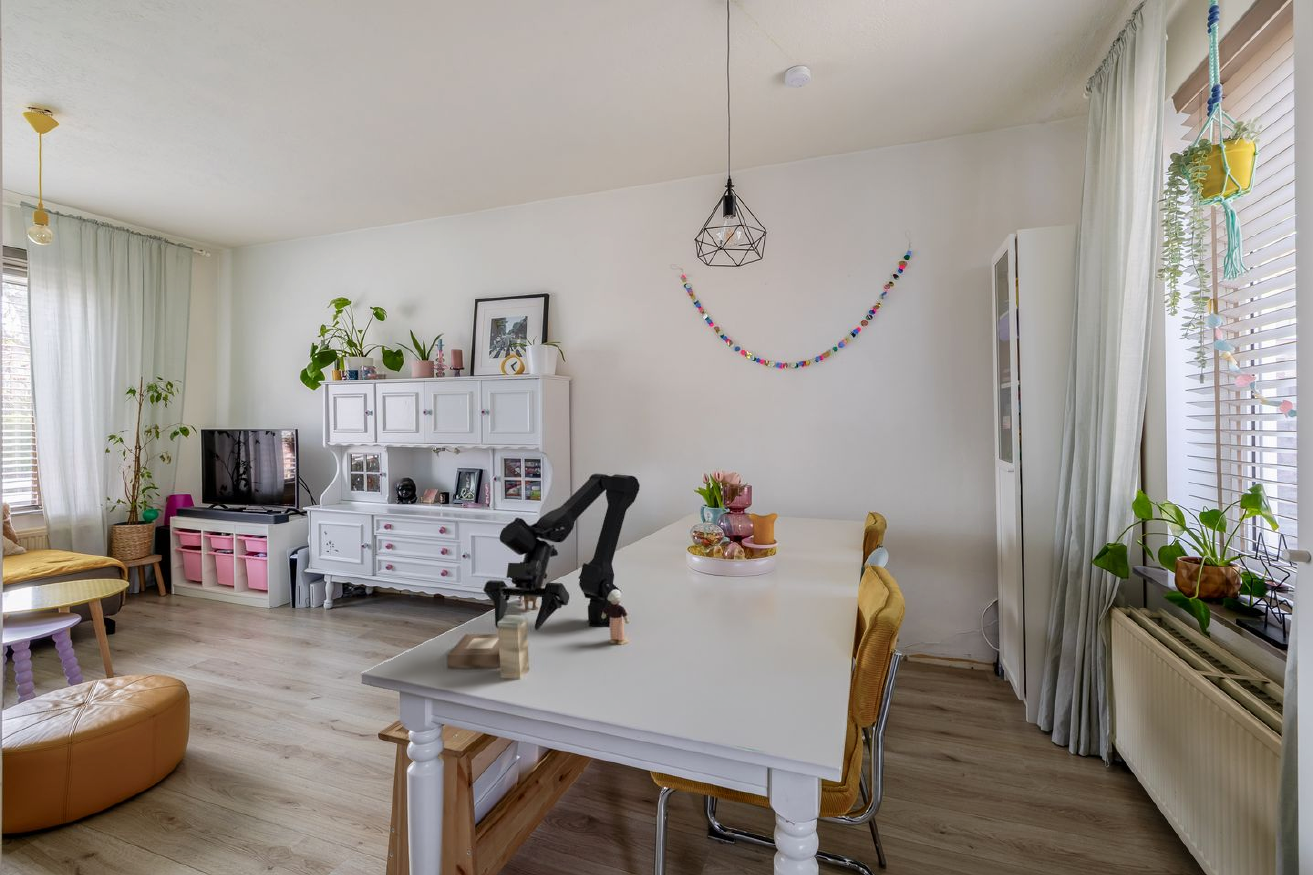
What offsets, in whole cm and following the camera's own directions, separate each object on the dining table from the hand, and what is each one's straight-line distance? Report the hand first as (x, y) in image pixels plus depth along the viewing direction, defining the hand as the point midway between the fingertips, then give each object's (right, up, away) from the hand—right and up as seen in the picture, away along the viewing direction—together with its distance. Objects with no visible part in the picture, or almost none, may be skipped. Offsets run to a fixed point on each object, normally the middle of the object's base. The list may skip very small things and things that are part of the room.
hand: (516, 628), depth 143 cm
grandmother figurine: (+21, -8, +14) cm, 27 cm away
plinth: (-9, -9, +8) cm, 15 cm away
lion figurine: (-5, -6, +42) cm, 42 cm away
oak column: (0, -9, -1) cm, 10 cm away
